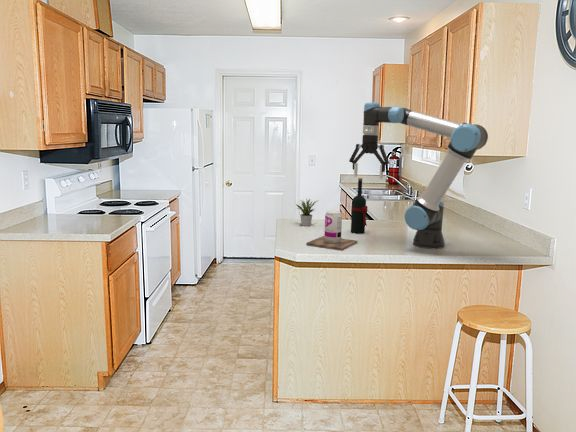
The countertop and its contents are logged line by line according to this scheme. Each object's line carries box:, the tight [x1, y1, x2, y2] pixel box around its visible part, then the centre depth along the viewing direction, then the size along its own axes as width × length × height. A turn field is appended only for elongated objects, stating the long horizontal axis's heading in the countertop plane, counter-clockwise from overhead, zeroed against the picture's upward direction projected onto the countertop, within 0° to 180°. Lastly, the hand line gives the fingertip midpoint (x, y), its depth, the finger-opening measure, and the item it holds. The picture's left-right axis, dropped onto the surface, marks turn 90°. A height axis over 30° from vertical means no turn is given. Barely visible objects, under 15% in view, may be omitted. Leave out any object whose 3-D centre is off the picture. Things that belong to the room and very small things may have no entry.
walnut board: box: [306, 235, 358, 252], centre depth 255 cm, size 19×19×1 cm
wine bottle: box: [350, 177, 368, 235], centre depth 280 cm, size 8×10×30 cm
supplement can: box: [323, 210, 343, 243], centre depth 253 cm, size 8×8×15 cm
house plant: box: [294, 198, 318, 227], centre depth 299 cm, size 14×14×16 cm
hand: (368, 177), depth 257 cm, fingers open, 13 cm apart
